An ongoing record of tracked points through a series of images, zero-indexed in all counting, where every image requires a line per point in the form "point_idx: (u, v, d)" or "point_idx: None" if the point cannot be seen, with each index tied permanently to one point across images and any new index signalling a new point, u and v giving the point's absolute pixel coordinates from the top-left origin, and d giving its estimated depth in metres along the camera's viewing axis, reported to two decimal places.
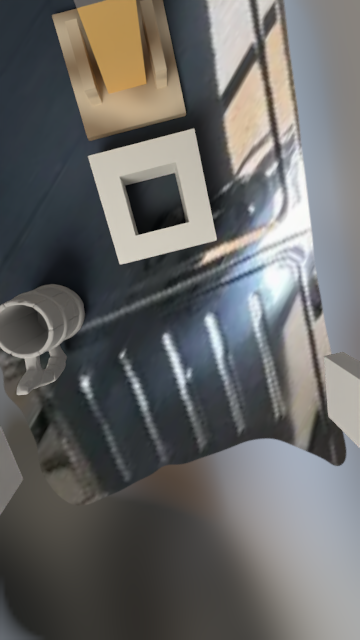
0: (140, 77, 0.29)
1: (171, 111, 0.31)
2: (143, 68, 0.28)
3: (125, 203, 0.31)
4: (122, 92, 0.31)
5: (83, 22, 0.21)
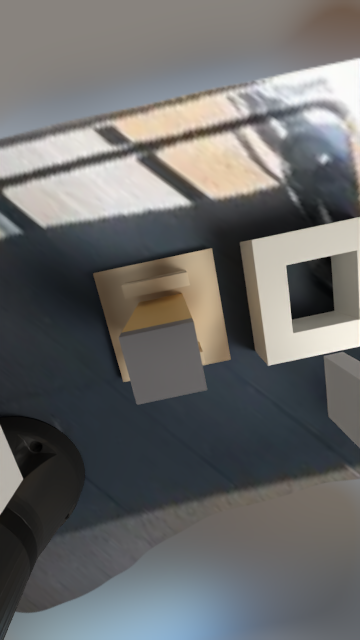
0: None
1: (209, 265, 0.27)
2: None
3: (322, 328, 0.26)
4: None
5: None
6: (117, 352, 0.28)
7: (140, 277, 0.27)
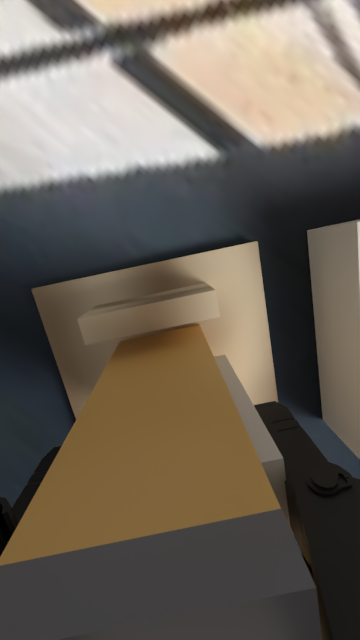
0: None
1: (252, 273, 0.14)
2: (206, 341, 0.12)
3: None
4: None
5: None
6: None
7: (121, 296, 0.14)
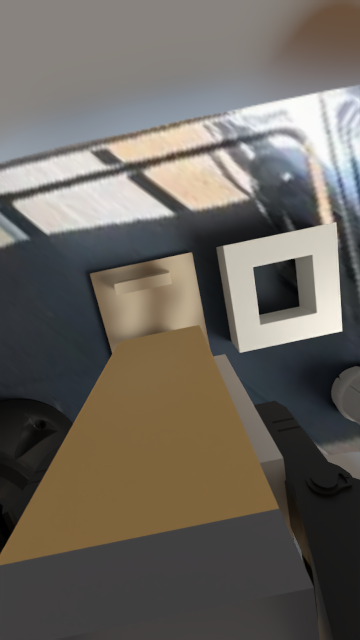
0: None
1: (190, 267, 0.31)
2: None
3: (285, 321, 0.30)
4: (173, 313, 0.32)
5: None
6: (111, 342, 0.33)
7: (130, 277, 0.31)
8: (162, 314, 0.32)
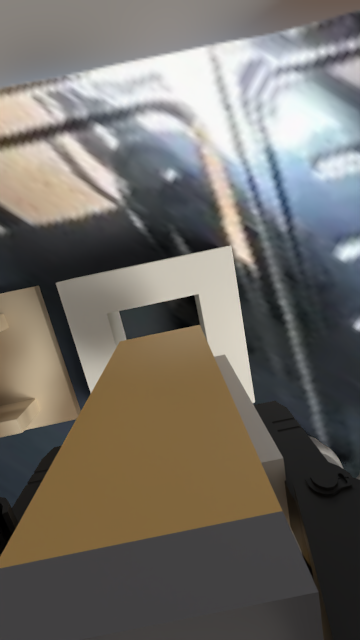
0: None
1: (34, 307, 0.21)
2: (206, 342, 0.12)
3: None
4: (19, 372, 0.23)
5: None
6: None
7: None
8: (2, 373, 0.23)
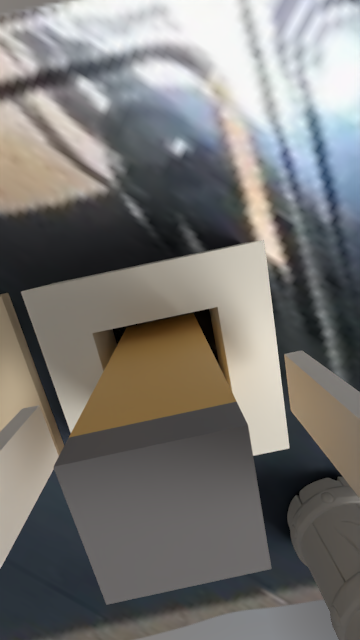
0: None
1: (1, 321, 0.16)
2: (198, 324, 0.15)
3: None
4: None
5: None
6: None
7: None
8: None
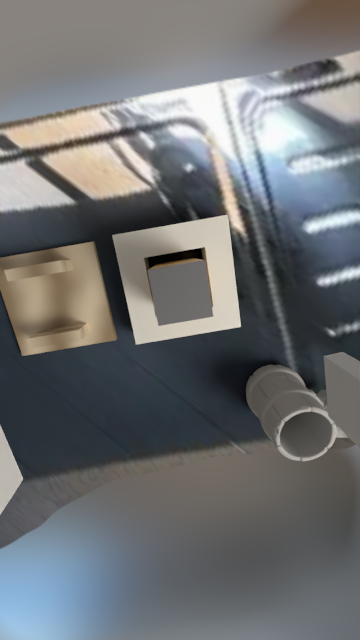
0: None
1: (91, 256, 0.31)
2: (195, 259, 0.30)
3: None
4: (77, 303, 0.32)
5: None
6: (15, 329, 0.33)
7: (31, 264, 0.31)
8: (66, 303, 0.32)
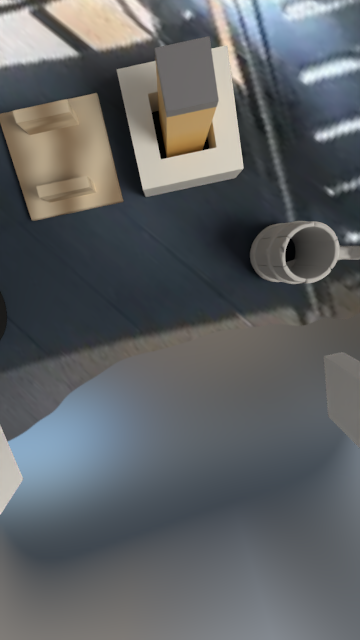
0: None
1: (96, 109, 0.32)
2: None
3: (185, 155, 0.31)
4: (83, 161, 0.33)
5: (214, 112, 0.25)
6: (24, 191, 0.34)
7: None
8: (72, 161, 0.33)
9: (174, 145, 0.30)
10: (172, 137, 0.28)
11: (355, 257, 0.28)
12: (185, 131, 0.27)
